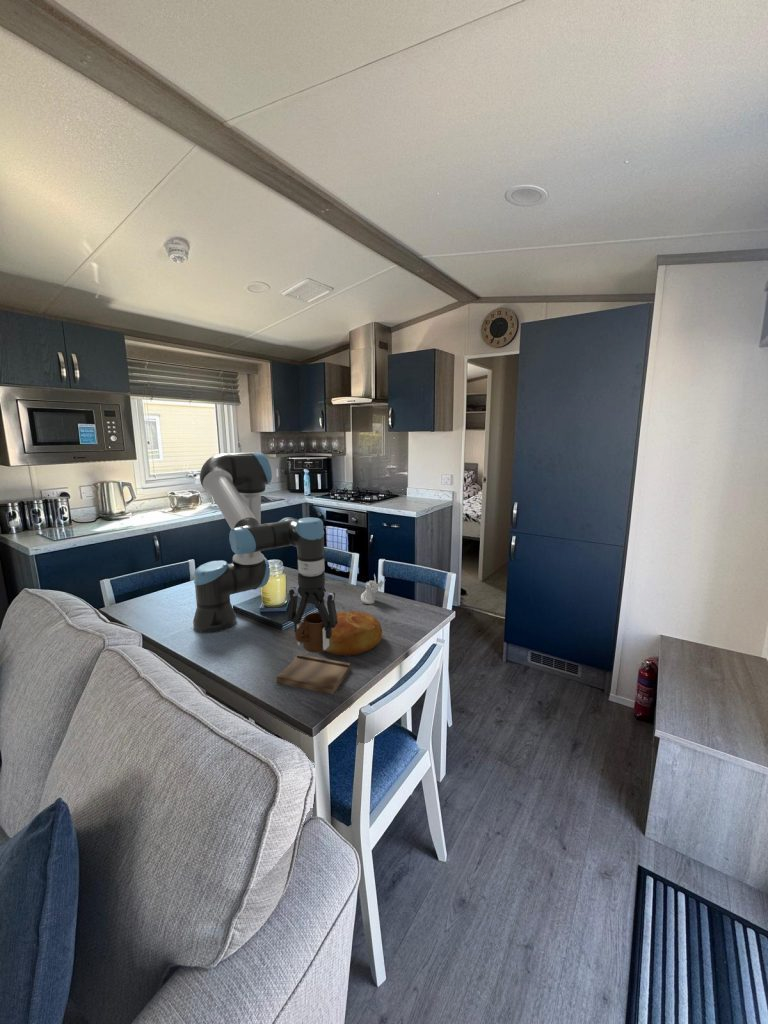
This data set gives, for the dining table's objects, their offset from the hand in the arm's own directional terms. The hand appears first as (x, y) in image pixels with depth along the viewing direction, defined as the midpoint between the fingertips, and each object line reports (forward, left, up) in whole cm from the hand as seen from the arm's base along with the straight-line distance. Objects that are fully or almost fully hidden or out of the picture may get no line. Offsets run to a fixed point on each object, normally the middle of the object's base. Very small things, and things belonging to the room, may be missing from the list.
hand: (313, 645), depth 127 cm
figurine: (-1, +57, -10) cm, 58 cm away
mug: (-1, 0, -2) cm, 2 cm away
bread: (+2, +22, -10) cm, 24 cm away
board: (0, 0, -10) cm, 10 cm away
